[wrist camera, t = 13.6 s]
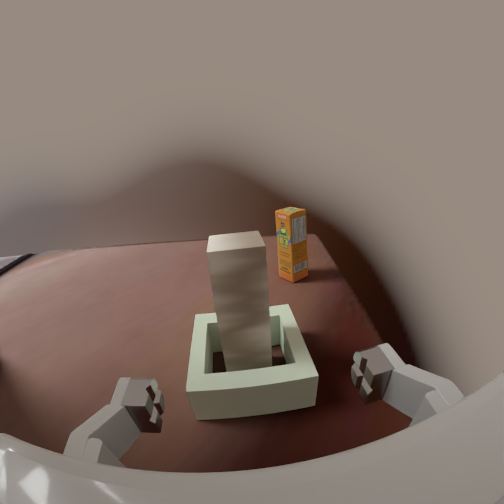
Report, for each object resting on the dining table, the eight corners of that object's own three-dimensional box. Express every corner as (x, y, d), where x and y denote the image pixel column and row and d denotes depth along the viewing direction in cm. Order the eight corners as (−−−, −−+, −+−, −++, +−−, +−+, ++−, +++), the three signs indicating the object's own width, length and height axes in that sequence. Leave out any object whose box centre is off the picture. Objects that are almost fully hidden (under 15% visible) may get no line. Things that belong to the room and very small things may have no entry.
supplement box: (276, 277, 40) (273, 209, 37) (293, 270, 42) (291, 205, 39) (291, 284, 38) (289, 213, 34) (309, 276, 40) (308, 208, 36)
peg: (230, 388, 21) (206, 252, 17) (228, 360, 24) (209, 235, 20) (273, 383, 21) (265, 246, 17) (267, 356, 24) (258, 230, 20)
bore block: (196, 419, 18) (185, 391, 16) (201, 342, 27) (195, 314, 26) (315, 405, 18) (318, 375, 17) (288, 332, 27) (288, 304, 26)
